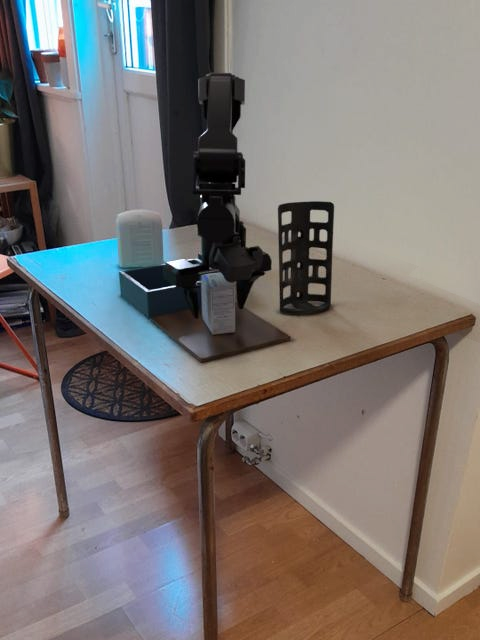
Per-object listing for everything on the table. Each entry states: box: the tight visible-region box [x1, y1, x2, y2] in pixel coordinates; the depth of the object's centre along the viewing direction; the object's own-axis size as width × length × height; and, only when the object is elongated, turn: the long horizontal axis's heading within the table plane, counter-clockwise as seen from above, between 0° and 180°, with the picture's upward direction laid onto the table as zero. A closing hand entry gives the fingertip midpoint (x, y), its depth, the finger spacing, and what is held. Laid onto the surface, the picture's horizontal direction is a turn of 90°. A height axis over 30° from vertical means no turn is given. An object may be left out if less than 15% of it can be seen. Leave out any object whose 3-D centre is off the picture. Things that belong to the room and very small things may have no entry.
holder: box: [277, 200, 335, 315], centre depth 124 cm, size 11×8×20 cm
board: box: [149, 301, 292, 364], centre depth 119 cm, size 18×20×1 cm
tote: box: [118, 257, 221, 320], centre depth 131 cm, size 18×14×5 cm
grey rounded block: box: [115, 209, 165, 268], centre depth 147 cm, size 10×4×12 cm, turn 103°
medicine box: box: [201, 273, 236, 335], centre depth 117 cm, size 8×4×9 cm, turn 16°
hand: (218, 313), depth 117 cm, fingers open, 9 cm apart
